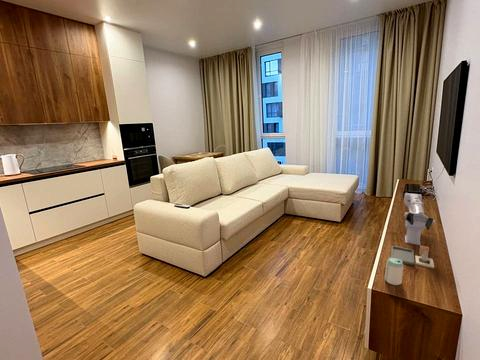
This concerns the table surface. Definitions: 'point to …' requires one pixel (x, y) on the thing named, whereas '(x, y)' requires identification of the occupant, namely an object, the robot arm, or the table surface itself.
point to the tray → (403, 254)
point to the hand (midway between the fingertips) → (420, 225)
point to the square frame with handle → (422, 249)
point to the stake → (424, 257)
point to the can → (394, 271)
